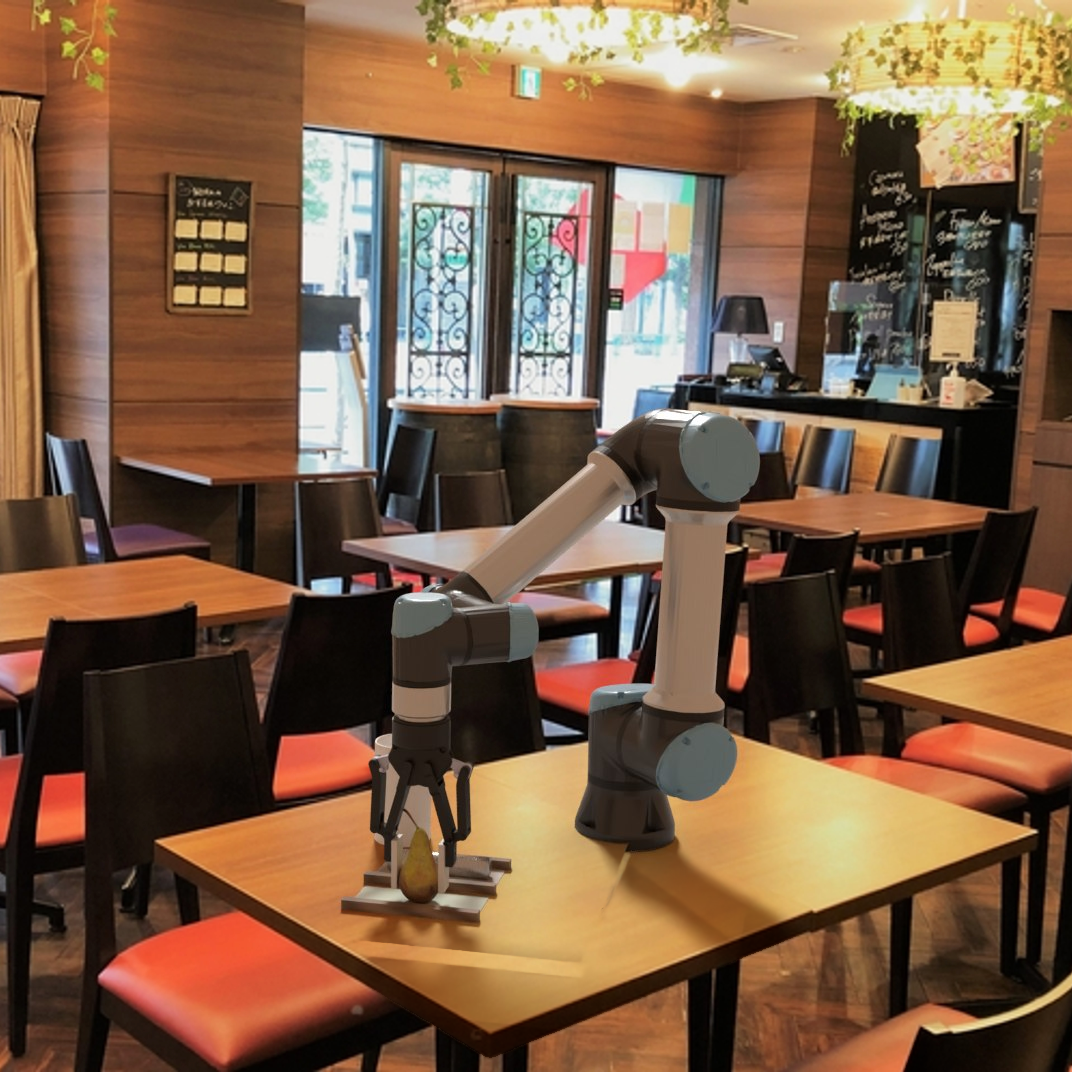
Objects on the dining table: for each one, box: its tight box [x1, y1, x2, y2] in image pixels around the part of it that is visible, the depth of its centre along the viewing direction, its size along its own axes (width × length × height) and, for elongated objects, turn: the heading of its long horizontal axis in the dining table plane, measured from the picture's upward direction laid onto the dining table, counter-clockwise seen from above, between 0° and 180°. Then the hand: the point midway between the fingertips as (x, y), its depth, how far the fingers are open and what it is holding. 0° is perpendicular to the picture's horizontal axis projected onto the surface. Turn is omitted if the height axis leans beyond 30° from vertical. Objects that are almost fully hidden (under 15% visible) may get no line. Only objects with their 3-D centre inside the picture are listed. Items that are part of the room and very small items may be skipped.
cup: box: [373, 733, 432, 848], centre depth 219 cm, size 8×8×16 cm
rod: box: [387, 848, 492, 879], centre depth 205 cm, size 14×3×3 cm, turn 79°
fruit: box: [398, 809, 438, 903], centre depth 195 cm, size 6×6×12 cm
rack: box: [340, 856, 512, 924], centre depth 201 cm, size 18×20×3 cm
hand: (420, 887), depth 195 cm, fingers closed on fruit, 6 cm apart
